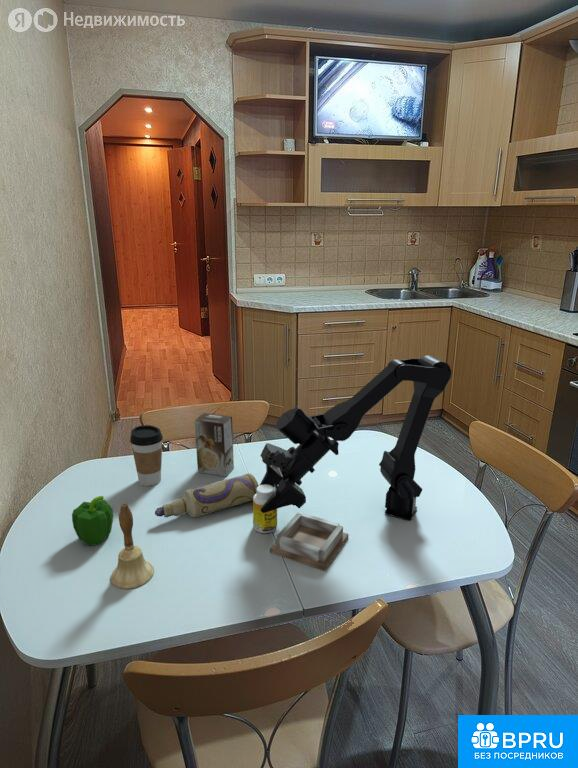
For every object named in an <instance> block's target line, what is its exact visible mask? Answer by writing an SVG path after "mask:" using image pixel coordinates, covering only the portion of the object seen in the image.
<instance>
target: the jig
mask: <svg viewBox="0 0 578 768" xmlns="http://www.w3.org/2000/svg"><path fill="white" fill-rule="evenodd" d="M275 538H276V539H275V541H274V543H273V544H271V546H270V547H269V553H272V554H275V555H278V556H281V557H284V558H286V559H289V560H291V561H295V562H297V563H300V564H304V565H307V566H310V567H313V568H315V569H317V570H322V571H323V572H325V571H326V570H327V569H328V568H329V566H330V565H331V564H332V562H333V560H334V558H335V557H336V556H337V554H338V553H339V552H340V550H342V547H343V546H344V545H345V543H346V542H347V541H348V539H349V533H347V532H344V526H343V525H341V524H340V523H339V522H336V521H332V520H329V519H326V518H321V517H319V516H315V515H312V514H307V513H306V512H305V513H304V512H303V513H300V512H297V513H296V514H295V515H294V516H293V517H292V518H291V519H290V521H289V522H287V524H286V525H285V526H284V527H283V528H282V529H281V530H280V531H279V532H278V533H277V534H276V535H275Z"/></svg>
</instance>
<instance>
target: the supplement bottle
mask: <svg viewBox="0 0 578 768" xmlns="http://www.w3.org/2000/svg"><path fill="white" fill-rule="evenodd" d="M259 485H260V484H259ZM273 493H274V488H273V486H271V485H267V484H264V485H260V486H258V487H257V492H256V494H255V495H254V497H253V500H252V507H253V508H252V514H253V515H252V522H253V523H252V525H253V529H254V530H255V531H256V532H258V533H261V534H268V533H270V534H271V533H272V532H274V531H275V530H276V529H277V527H278V509H275V510H272V511H269V512H266V513H263V512H261V508H262V507H263V505H264V504H265V503H266V501H267V500H268V499H269V498H270V497H271V495H272V494H273Z"/></svg>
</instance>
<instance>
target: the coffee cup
mask: <svg viewBox="0 0 578 768" xmlns="http://www.w3.org/2000/svg"><path fill="white" fill-rule="evenodd" d="M161 431H162V430H161V429H160V428H159V427H157V426H154V425H150V424H144V425H138V426H136V427H134V428H132V429H131V432H130V438H129V439H130V440H129V441H130V443H131V444H132V453H133V460H134V464H135V469H136V474H137V479H138V483H139V485H141V486H143V485H144V487H151V485H152V486H156V485H157V484H159V483H160V482H161V481H162V463H163V461H162V458H163V457H162V456H163V445H162V441H163V440H164V436H163V433H162V432H161Z"/></svg>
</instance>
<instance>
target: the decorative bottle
mask: <svg viewBox="0 0 578 768" xmlns="http://www.w3.org/2000/svg"><path fill="white" fill-rule="evenodd" d="M259 485H260V484H258V481H257V479H256V477H255V475H253V474H252V473H249V472H248V473H245V474H243V475H238V476H234V477H231V478H227V479H226V478H225V479H223V480H218V481H216V482H212V483H207V484H204V485H200V486H196V487H192V488H190V489H187V490H185V492H184V494H183V497H182V498H176V499H175V500H173V501H172V502H170V503H166V504H163V505H162V506H159V507H157V508H156V509H155V511H154V515H155V516H156V517H163V518H169V517H173V516H174V517H178V516H180V515H183V514H188V515H190V517H192V518H196V517H197V518H198V517H201V516H205V515H207V514H211V513H214V512H217V511H220V510H225V509H227V508H230V507H234V506H238V505H241V504H245V503H247V502H253V497H254V495H255V492H256V491H257V487H258V486H259Z"/></svg>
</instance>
